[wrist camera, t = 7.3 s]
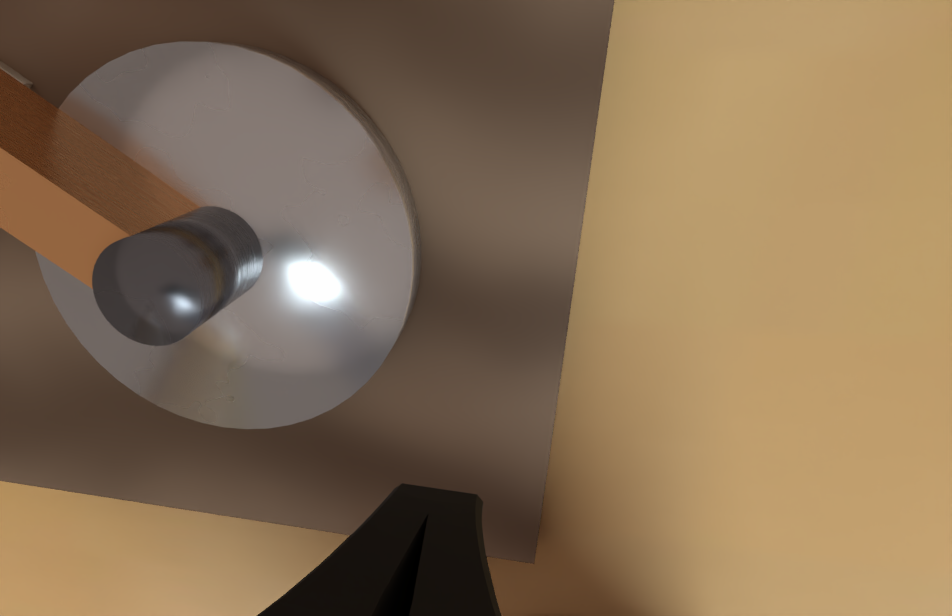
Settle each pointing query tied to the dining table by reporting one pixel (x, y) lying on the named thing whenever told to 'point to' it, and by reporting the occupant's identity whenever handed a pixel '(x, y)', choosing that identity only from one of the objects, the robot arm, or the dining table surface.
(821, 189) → the dining table surface
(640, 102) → the dining table surface
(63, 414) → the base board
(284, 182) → the dial
